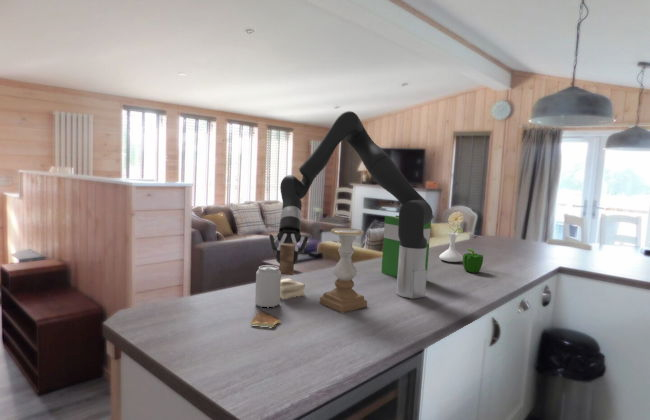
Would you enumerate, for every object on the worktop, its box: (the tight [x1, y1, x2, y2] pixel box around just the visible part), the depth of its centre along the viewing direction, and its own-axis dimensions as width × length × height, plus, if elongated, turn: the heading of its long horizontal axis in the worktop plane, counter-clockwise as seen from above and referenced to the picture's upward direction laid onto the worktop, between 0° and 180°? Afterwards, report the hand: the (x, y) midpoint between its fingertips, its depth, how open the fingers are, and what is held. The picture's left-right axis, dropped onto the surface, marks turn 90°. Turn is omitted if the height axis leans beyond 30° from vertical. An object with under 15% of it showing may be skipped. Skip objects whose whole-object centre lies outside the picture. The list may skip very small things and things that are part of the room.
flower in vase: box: [438, 211, 465, 263], centre depth 204 cm, size 13×11×25 cm
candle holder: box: [319, 227, 368, 313], centre depth 131 cm, size 11×11×24 cm
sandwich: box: [250, 309, 282, 328], centre depth 116 cm, size 11×8×2 cm
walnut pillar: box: [279, 243, 295, 276], centre depth 141 cm, size 4×4×10 cm
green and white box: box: [380, 215, 432, 281], centre depth 171 cm, size 18×7×24 cm, turn 39°
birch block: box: [280, 277, 306, 300], centre depth 141 cm, size 9×9×4 cm
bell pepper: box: [462, 248, 484, 274], centre depth 186 cm, size 8×8×10 cm
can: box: [254, 264, 282, 309], centre depth 128 cm, size 8×8×12 cm
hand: (286, 262), depth 139 cm, fingers closed on walnut pillar, 4 cm apart
